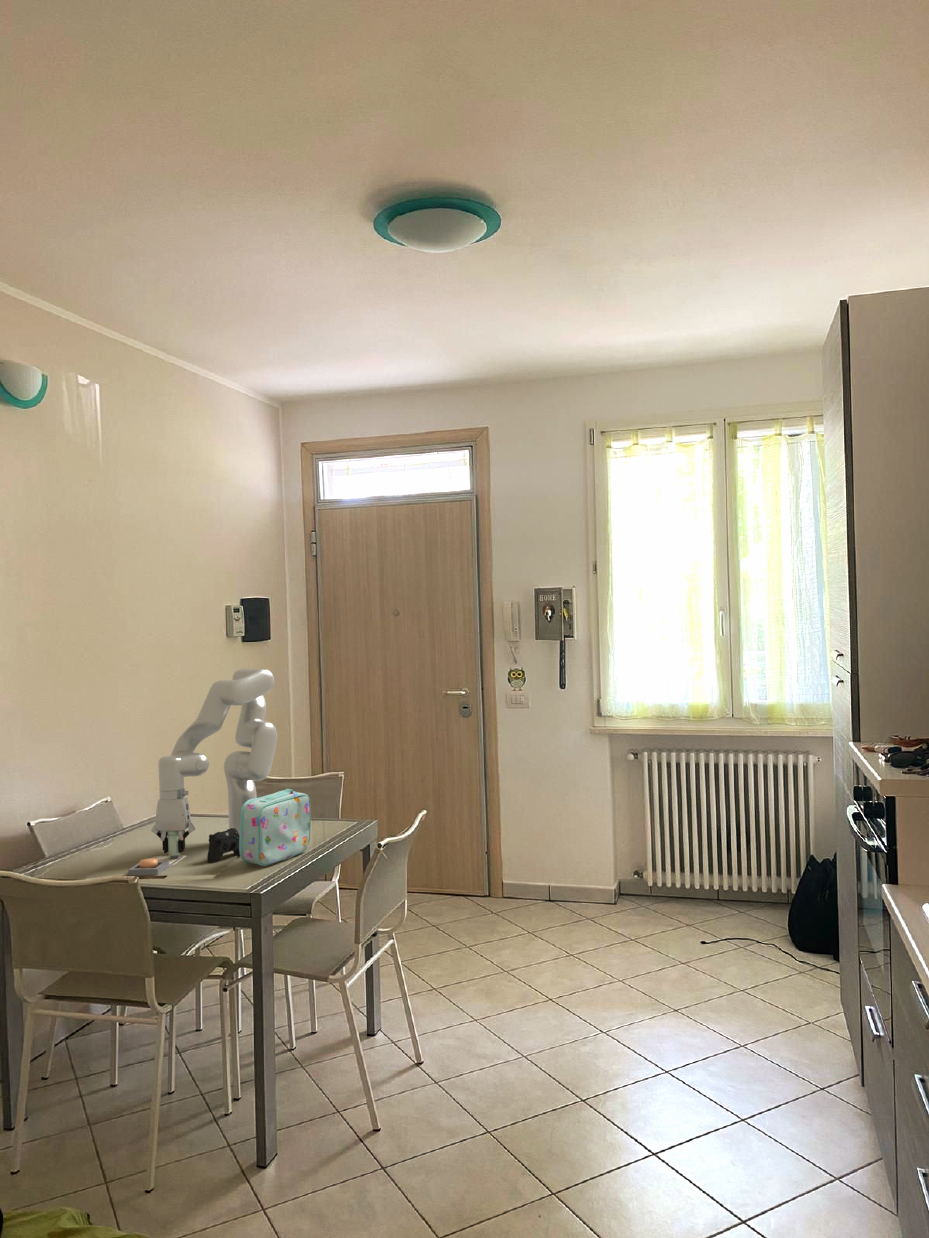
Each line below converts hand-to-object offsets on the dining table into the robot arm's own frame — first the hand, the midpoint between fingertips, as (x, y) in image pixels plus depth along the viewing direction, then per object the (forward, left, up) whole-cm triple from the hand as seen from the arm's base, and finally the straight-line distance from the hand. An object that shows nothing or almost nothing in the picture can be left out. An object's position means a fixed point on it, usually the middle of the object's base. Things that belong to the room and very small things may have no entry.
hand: (174, 851), depth 299 cm
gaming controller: (-17, 0, -4) cm, 17 cm away
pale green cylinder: (0, 0, -2) cm, 2 cm away
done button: (+3, +15, -1) cm, 15 cm away
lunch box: (-33, -1, -4) cm, 33 cm away
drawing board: (+2, +7, -3) cm, 9 cm away
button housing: (+2, +14, -3) cm, 15 cm away
